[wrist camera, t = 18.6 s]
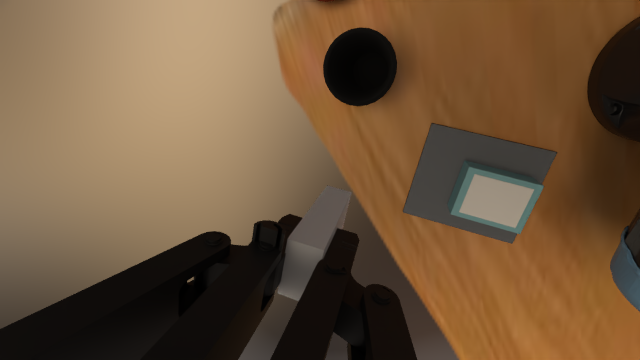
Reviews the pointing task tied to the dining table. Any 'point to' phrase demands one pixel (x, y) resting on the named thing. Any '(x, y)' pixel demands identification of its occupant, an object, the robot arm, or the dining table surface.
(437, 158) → the mat
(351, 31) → the cup
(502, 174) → the card box
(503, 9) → the dining table surface
